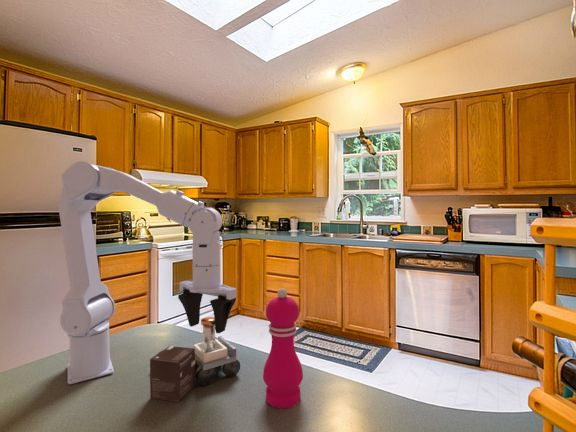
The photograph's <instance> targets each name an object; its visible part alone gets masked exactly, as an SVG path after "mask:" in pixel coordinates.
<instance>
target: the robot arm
mask: <svg viewBox="0 0 576 432" xmlns="http://www.w3.org/2000/svg"><path fill="white" fill-rule="evenodd" d="M61 180H62V189H61V193H60V197H59V198H58V199H59V200H58V203H57V204H58V207H57V208H58V212H59V213H58V214H59V220H60V227H61V233H62V239H63V244H64V246H63V247H64V253H65V259H66V260H65V261H66V265H67V266H66V267H67V274H68V279H69V287H70V288H69V290H68V291H67V293H66V294H65V296H64V298H63V299H62V301H61V302H62V303H61V304H62V311H61V314H60V317H59V321H60V327H61V328H62V330H63V332H65V333H66V334H67V337H68V338H69V340H68V341H69V343H68V344H69V363H68V364H67V384H68V385H73V384H77V383H79V382H80V383H81V382H85V381H88V380H91V379H96V378H100V377H103V376H107V375H110V374H111V375H112V374H113V373H115V371H114V367H113V363H112V360H111V356H110V355H111V354H110V319H111V318H112V317H113V315H114V314H115V312H116V303H115V301H114V299H113V298H112V296H111V294H110V291H109V287H108V286H107V285H106V284H104V283H103V282H102V281H101V275H100V269H99V268H100V267H99V261H98V260H99V259H98V254H97V248H96V241H95V234H94V233H95V232H94V229H93V220H92V214H91V210H93V208H95V207H96V205H98V204H99V202H101V201H103V200H105V199H106V198H108V197H110V196H112V195H114V194H115V193H116V192H117V193H123V192H124V193H126V194H128V195H131V196H133V197H135V198H137V199H140V200H142V201H145V202H147V203H149V204H151V205H154V206H156V209H157V212H158V214H159V215H160V216H162V217H165V218H167V219H168V220H171V221H173V222H175V223H176V224H179V225H180V226H183V227H185V228H188V229H189V231H190V232H191V233H192V245H191V247H192V280H183V281H180V282H179V292H182V293H179V294H178V295H177V298H178V299H177V300H179V302H180V303H181V304H182V307H183V309H184V311H185V314H186V315H185V316H186V318H187V322H188V325H189V327H194V326H195V327H196V326H197V325H199V323H200V320H201V318H200V316H201V303H202V299H203V295H206V296H213V297H217V298H214V299H211V300H210V302H209V303H210V305H211V307H212V310H213V311H212V312H213V317H214V318H215V334H221V333H222V332H225V331H226V326H227V322H228V319H229V315H230V313H231V311H232V309H233V306H234V304H235V303H236V301H237V287H232V286H228V285H226V284H223V283H221V241H220V240H221V235H220V234H221V233H220V230H221V228H222V225H223V217H222V214H220V212H219V211H218V210H216V209H215V208H214V207H211V206H210V207H209V206H207V207H204V205H205V203H204V202H202V201H200V200H199V201H196V200H193V199H191V198H189V197H187V196H185V192H183V191H181V190H176V191H175V190H172V189H171V190H168V191H165V192H163V191H161V190H159V189H157V188H156V187H154V186H151V185H150V184H148V183H146V182H144V181H143V180H140V179H139V178H136V177H134V175H131V174H129V173H127V172H124V171H120V170H117V169H114V168H112V167H109V166H102V165H97V164H94V163H90V162H88V161H82V160H81V161H79V160H78V161H75V162H74V163H72V164H71V165H70V166H69V167H67V169H66V170H65V171H64V172H63V173H62V174H61Z"/></svg>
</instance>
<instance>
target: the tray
mask: <svg viewBox="0 0 576 432" xmlns="http://www.w3.org/2000/svg"><path fill="white" fill-rule="evenodd" d="M193 348H194V349H195V354H196V355H197V356H198V357H199V358H200V359H201V360H202V361H203V362H204V363H205V362H209V361H212V360H216V359H219V358H223V357H226V356H227V348H226V347H225V346H224V345H223V344H222V343H220V342H219V341H218V338H215V351H212V352H208V353H205V352H204V351H203V341H202V342H198V343H195V344H193Z"/></svg>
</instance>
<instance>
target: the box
mask: <svg viewBox="0 0 576 432" xmlns="http://www.w3.org/2000/svg"><path fill="white" fill-rule="evenodd" d="M149 369H150V370H149V378H150V379H149V385H150V386H149V387H150V388H149V389H150V391H149V394H150V395H149V397H150V398H151V399H157V400H163V401H170V402H176V403H177V402H178V403H179V402H180V401H182V399H184V398H185V397H186V396H187V395H188V394H189V393H190V391H191V390H193V388H195V386H196V381H197V380H196V378H195V349H194V347H183V346H182V347H181V346H172V345H171V346H170V345H169V346H167V347H165V349H163V350H159V352H157V354H155V355H154V356H152V357H151V358H149Z"/></svg>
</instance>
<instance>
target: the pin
mask: <svg viewBox="0 0 576 432" xmlns="http://www.w3.org/2000/svg"><path fill="white" fill-rule="evenodd" d="M200 324H201V326H202V335H203V336H202V339H203V341H202V342H203V351H204V352H205V353H208V352H212V351H215V339H216V331H215V318H214V316H207V317H206V316H205V317H204V318H200Z"/></svg>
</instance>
